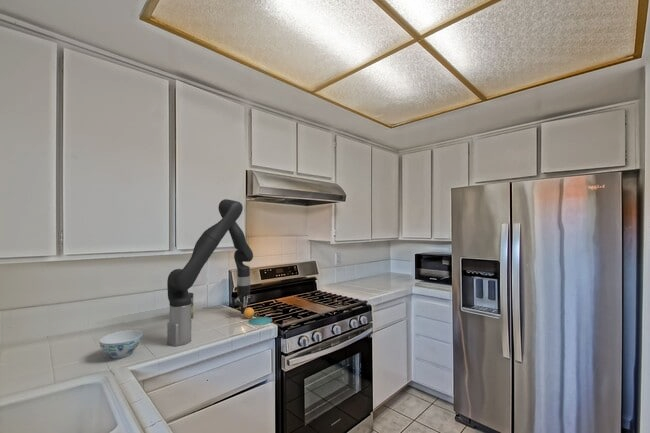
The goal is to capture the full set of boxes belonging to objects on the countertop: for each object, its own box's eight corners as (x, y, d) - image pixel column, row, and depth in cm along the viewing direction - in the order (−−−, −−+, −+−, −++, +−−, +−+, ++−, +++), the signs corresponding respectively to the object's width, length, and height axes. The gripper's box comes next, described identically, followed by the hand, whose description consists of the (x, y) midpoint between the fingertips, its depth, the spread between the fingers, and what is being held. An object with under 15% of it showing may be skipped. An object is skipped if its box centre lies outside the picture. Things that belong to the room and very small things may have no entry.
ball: (242, 320, 176) (250, 317, 173) (240, 309, 177) (248, 306, 175) (249, 318, 181) (257, 316, 179) (247, 308, 183) (255, 305, 180)
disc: (261, 326, 164) (261, 325, 164) (243, 322, 171) (243, 322, 171) (277, 319, 175) (277, 319, 175) (259, 316, 182) (259, 315, 182)
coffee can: (197, 317, 180) (197, 292, 180) (185, 322, 170) (186, 297, 170) (181, 316, 182) (181, 292, 182) (169, 321, 172) (169, 296, 172)
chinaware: (130, 345, 140) (130, 327, 140) (149, 352, 132) (149, 334, 132) (91, 358, 127) (92, 338, 127) (110, 366, 119) (110, 346, 119)
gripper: (240, 287, 172) (240, 318, 172) (256, 282, 184) (256, 311, 184) (230, 285, 176) (230, 316, 176) (246, 281, 187) (246, 309, 188)
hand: (243, 313), depth 180 cm, fingers closed
